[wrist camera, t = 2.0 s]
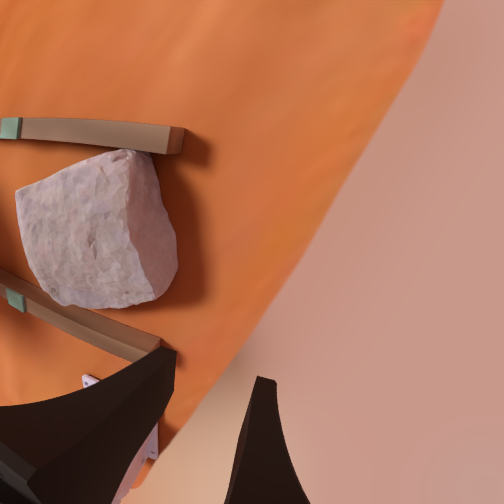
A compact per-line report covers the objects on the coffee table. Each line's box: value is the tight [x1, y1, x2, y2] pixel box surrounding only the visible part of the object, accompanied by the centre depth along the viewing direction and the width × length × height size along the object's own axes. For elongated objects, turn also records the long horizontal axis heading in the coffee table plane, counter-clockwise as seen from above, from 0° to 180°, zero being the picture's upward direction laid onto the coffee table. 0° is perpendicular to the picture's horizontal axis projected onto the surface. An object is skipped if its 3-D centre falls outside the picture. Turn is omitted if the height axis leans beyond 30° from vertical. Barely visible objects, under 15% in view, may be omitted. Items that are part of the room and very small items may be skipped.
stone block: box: [15, 149, 178, 309], centre depth 19 cm, size 12×5×10 cm
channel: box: [0, 117, 185, 363], centre depth 20 cm, size 16×22×2 cm
